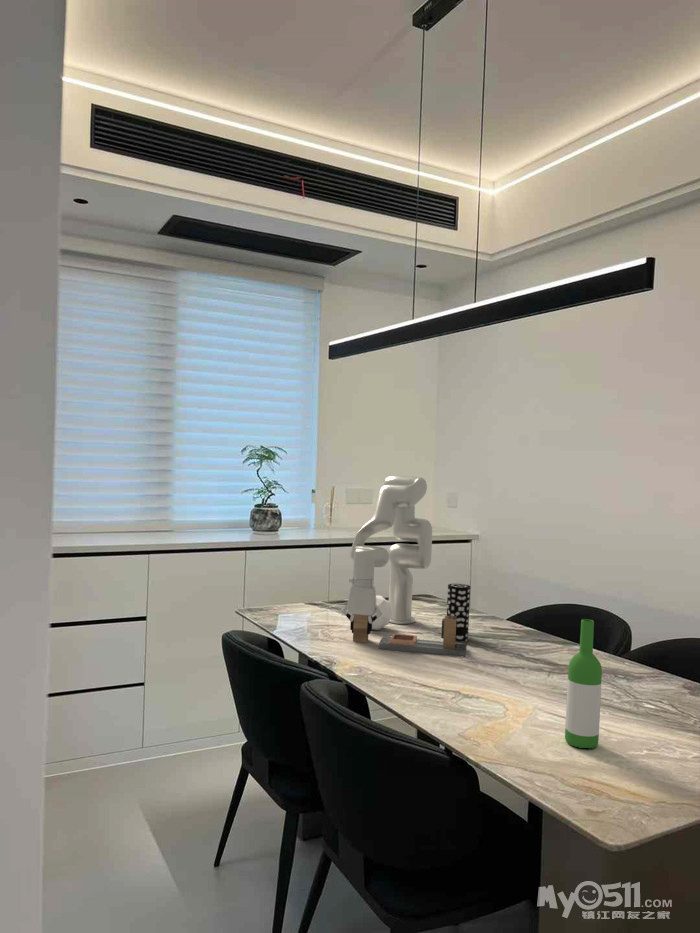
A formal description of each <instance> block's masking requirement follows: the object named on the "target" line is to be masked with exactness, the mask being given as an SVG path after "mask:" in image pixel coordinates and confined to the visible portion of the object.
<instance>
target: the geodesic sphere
mask: <svg viewBox="0 0 700 933" xmlns="http://www.w3.org/2000/svg"><path fill="white" fill-rule="evenodd" d="M376 606H377V607H378V608H379V610H380V611H381V613H382V615H381V616H380V617H378V618H377V619H376V620H375V621H373V622H372V631H373V630H374V631H379V630H382V629H383V628H385V626H388V625H389V623H390V622H389V621H390V618H391V616H392V611H391V607H390V603H389V600H386V599H385V598H384V596H382V595H377V594H376ZM376 614H377V612H375V614H374V615H372V617H374V616H375V615H376Z"/></svg>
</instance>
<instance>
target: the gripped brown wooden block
mask: <svg viewBox="0 0 700 933" xmlns="http://www.w3.org/2000/svg"><path fill="white" fill-rule="evenodd" d="M368 621H369V620H368V616H365V615H354V626H353V633H352V642H357V643H358V642H359V643H367V642H368V641H369V634H367V625H368Z"/></svg>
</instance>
